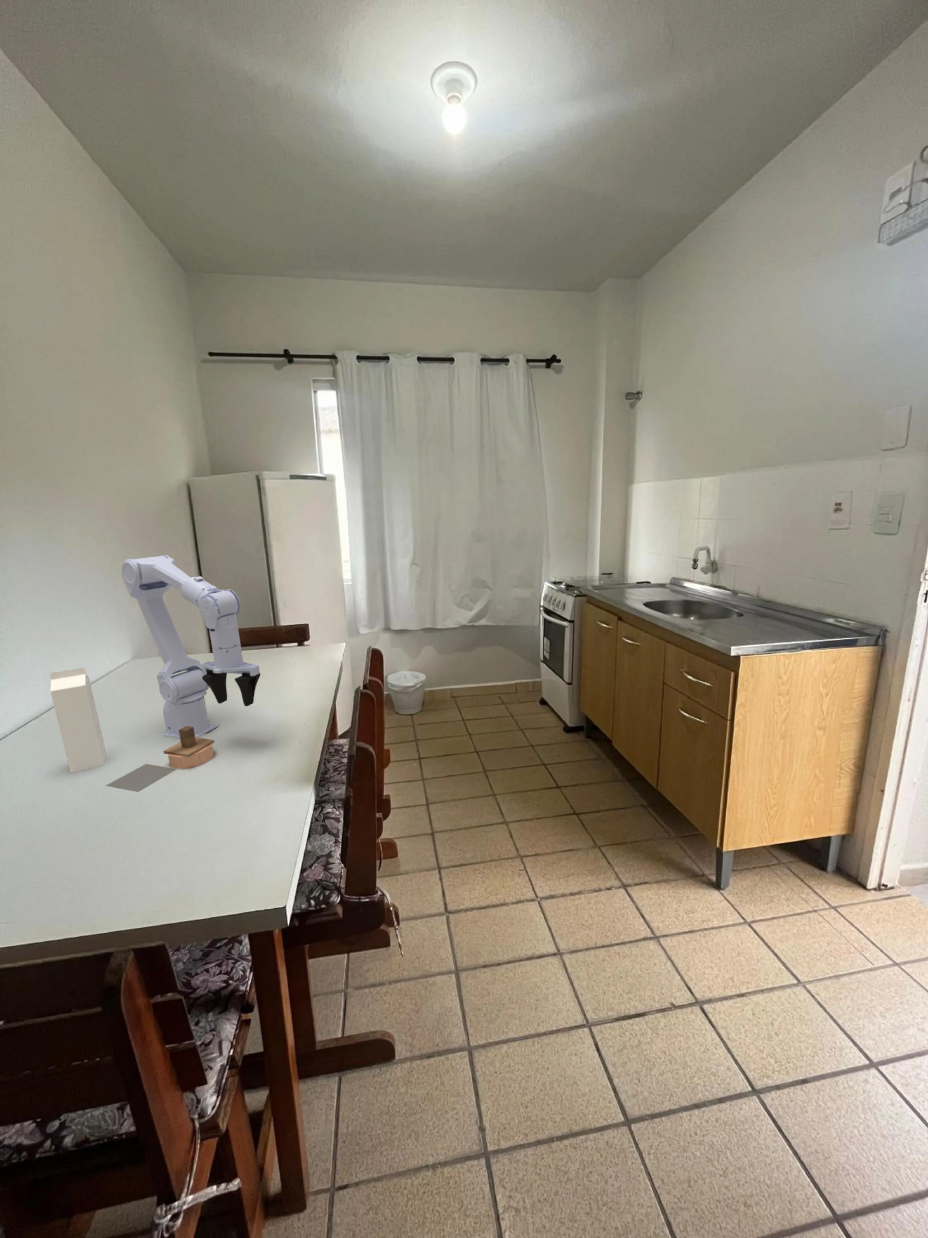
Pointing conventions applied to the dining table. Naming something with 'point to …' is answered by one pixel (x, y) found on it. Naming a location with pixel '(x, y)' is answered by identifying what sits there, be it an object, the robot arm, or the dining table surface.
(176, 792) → the dining table surface
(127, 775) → the mat
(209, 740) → the lid
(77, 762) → the milk
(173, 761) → the octagonal copper pot
